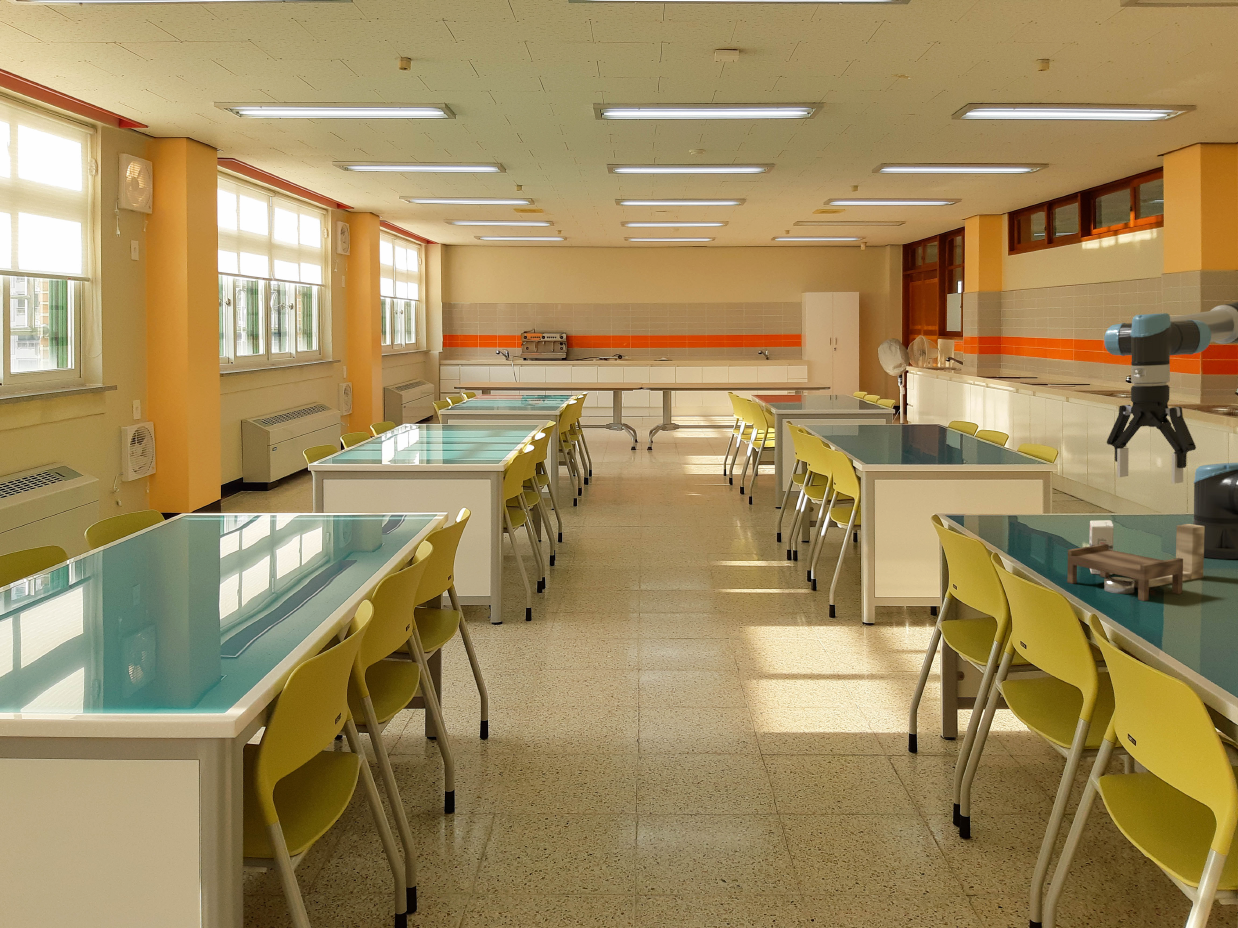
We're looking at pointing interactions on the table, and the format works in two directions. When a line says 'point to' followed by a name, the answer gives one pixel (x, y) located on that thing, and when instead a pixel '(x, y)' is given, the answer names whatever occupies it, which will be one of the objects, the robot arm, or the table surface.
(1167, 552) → the table surface
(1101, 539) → the ink box
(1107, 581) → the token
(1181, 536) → the bookend
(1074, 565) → the riser
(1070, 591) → the table surface
